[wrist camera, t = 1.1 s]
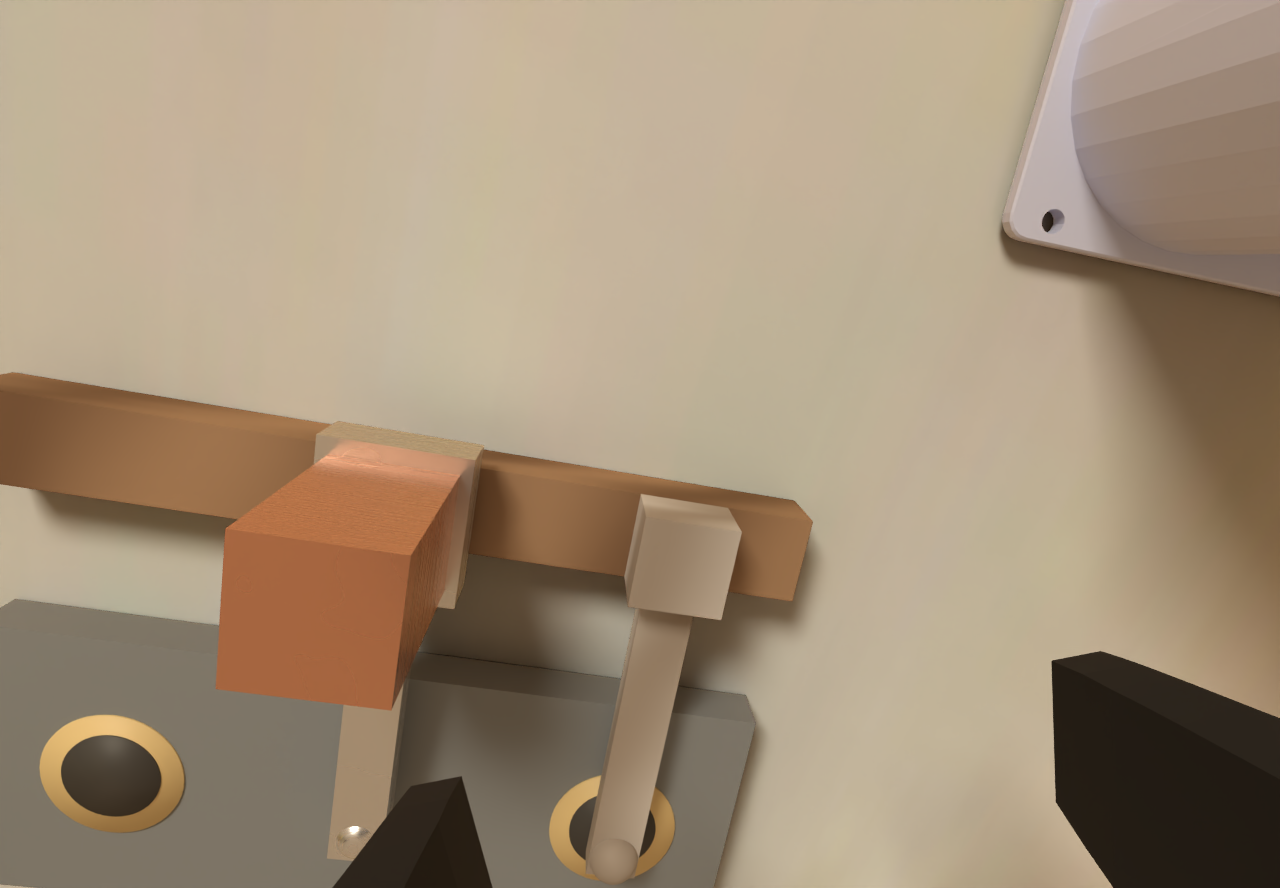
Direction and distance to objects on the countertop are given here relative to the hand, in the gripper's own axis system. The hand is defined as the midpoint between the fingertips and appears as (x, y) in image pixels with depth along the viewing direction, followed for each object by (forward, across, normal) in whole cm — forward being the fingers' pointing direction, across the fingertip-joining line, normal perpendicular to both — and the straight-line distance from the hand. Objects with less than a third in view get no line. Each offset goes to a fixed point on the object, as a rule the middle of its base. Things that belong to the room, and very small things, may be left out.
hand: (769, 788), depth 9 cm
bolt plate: (+9, +9, +5) cm, 14 cm away
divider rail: (+9, +7, +1) cm, 12 cm away
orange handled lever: (+8, +7, +1) cm, 11 cm away
